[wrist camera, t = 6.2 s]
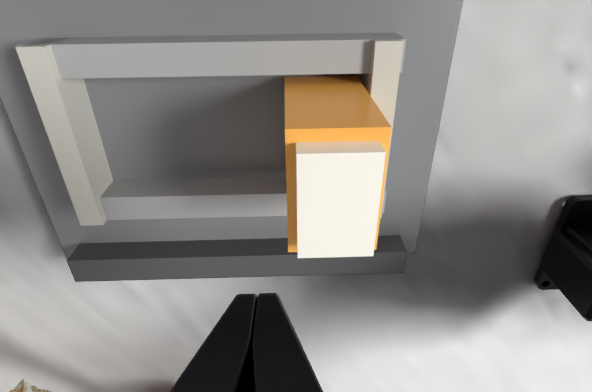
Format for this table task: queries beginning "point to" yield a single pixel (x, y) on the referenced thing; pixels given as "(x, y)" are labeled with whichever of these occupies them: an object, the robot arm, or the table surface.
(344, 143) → the toggle
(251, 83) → the grey rectangular tray
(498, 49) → the table surface
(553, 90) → the table surface
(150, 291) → the table surface
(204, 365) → the robot arm
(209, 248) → the grey rectangular base plate
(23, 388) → the pine cone
